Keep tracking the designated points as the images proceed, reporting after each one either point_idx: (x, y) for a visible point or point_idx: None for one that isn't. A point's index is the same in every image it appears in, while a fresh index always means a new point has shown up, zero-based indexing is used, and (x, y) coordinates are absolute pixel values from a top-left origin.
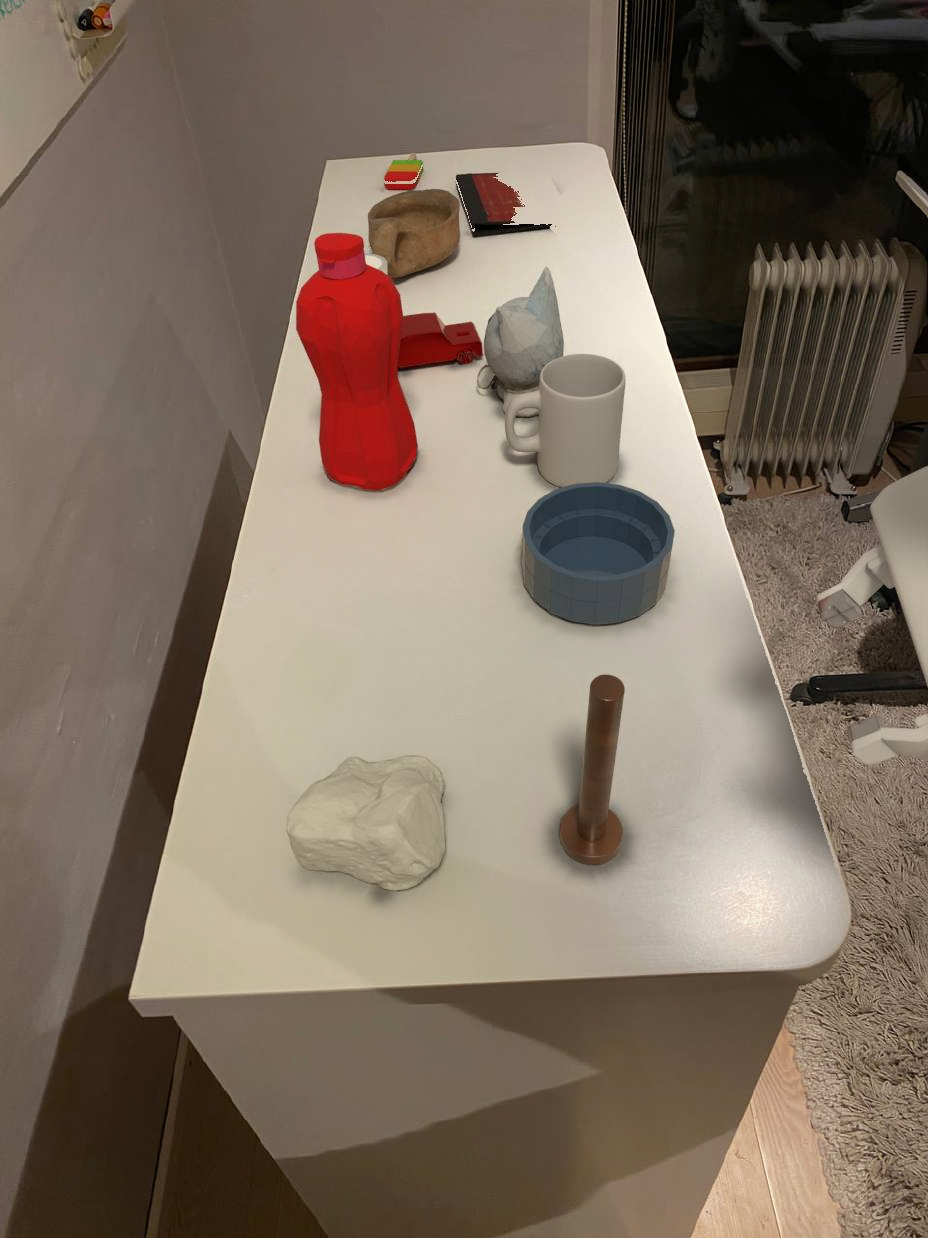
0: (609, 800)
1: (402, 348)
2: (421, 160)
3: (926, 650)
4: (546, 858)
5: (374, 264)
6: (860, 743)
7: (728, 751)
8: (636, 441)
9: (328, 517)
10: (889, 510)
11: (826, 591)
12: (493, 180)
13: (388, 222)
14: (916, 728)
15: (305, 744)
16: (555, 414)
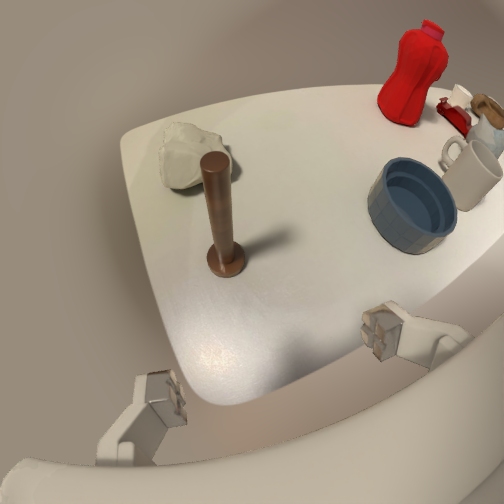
0: (223, 248)
1: (450, 110)
2: None
3: (228, 470)
4: (205, 241)
5: (468, 94)
6: (138, 381)
7: (320, 324)
8: (483, 217)
9: (359, 104)
10: None
11: (398, 306)
12: None
13: (483, 95)
14: (119, 442)
15: (233, 128)
16: (464, 155)
